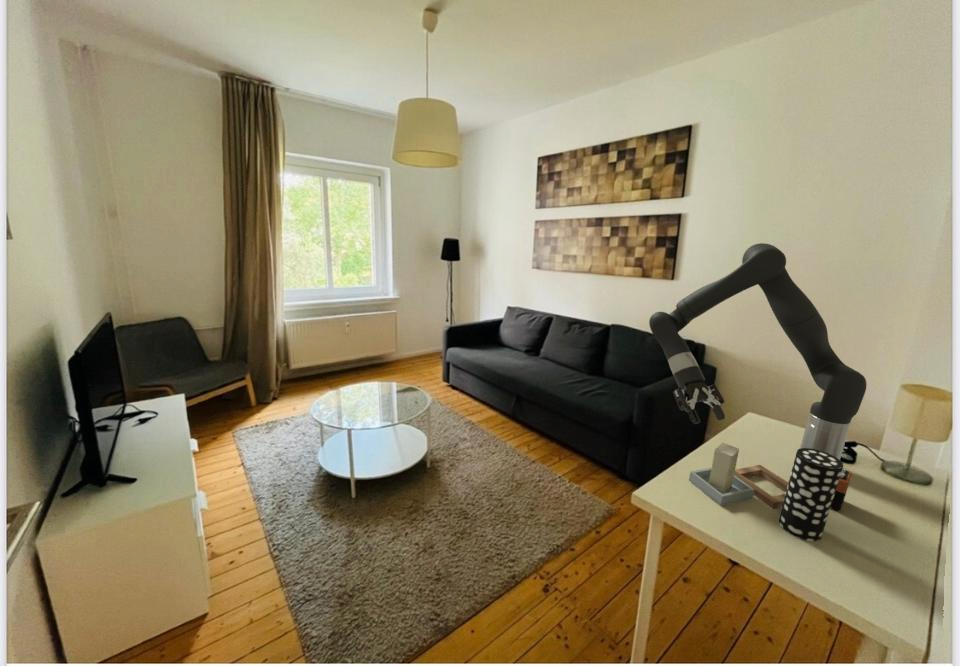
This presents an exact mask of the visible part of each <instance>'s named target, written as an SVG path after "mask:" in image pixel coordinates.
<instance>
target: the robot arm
mask: <svg viewBox="0 0 960 666" xmlns="http://www.w3.org/2000/svg"><path fill="white" fill-rule="evenodd" d="M741 260H742V261H741V263H742V264H741V265H739V267H737V268H736V269H735V270H732V272H730V273H729V274H727V275H725V276H724V277H721V278H719V279H718V280H716V281H714V282H710V283H709V284H706V285H704V286H702V287H700V288H698V289H696V290H695V291H693V292H692V293H690V294H689V295H688V294H687V296H685V297H684V298H682V299H681V300H679V301H678V302H677V303H676V306H675V307H676V308H675V309H674V310H673V311H671V312H670V313H668V312H665V311H656V312H654V313H653V314H651V316H650V318H649V322H648V324H649V328H650V331H651V332H652V335H653V336H654V337H655V339H656V340H657V342H658V344H659V345H660V346H661V348H662V349H663V353H664V355H665V357H666V360H667V363H668V365H669V368H670V370H671V372H672V375H673V378H674V380H675V382H676V384H677V386H678V388H677V389H675V390H674V391H673V392H672V393H673V396H674V398H675V399H674V400H675V401H676V405H677V407H678V409H679V410H680V411H682V412H683V411H685V412H686V413H687V414H688V418H689V419H690V421H691V422H692V423H693V424H694V425H697V424H700V423H701V419H700V416H699V414H698V412H697V410H696V409H695V406H696V403H704V404H707V405H708V406H710V407H711V408H712V411H713V413H714V416H715V418H716V420H717V421H723V420H725V419H726V418H725V417H726V416H725V413H724V411H723V409H722V406H721V405H723V404H725V400H724V397H723V396H722V394H721V392H720V391H719V389H718V386H717V385H716V384H715V383H714V384H711V385H706V383H705V380H706V378H705V376H704V374H703V372H702V370H701V367H700V366H699V364H698V362H697V359H696V358H695V356H694V355H693V353H692V351H691V350H690V347H689V345H688V344H687V341H686V340H685V339H684V338H683V337H682V336H681V335H680V334H679V332H681V331H682V330H683V329H684V328H685V327H687V326H688V325H689V323H691V322H692V321H693V320H694V319H696V318H698V317H700V316H701V315H703V314H704V313H706V312H708V311H710V310H711V309H713V308H714V307H716V306H717V305H720V304H721V303H723V302H724V301H727V300H728V299H730V298H732V297H734V296H736V295H738V294H739V293H742V292H743V291H746V290H748V289H750V288H752V287H755V286H757V285H758V286H759V288H761V290H762V292H763V293H764V295H765V297H766V299H767V302H768V304H769V307H770V308H771V311H772V313H773V314H774V317H775V319H776V320H777V322H778V324H779V325H780V327H781V328H782V329H781V330H783V331H784V333H785V335H786V336H787V337H788V339H789V341H790V342H791V343H792V345H793V346H794V348H795V349H796V350H797V351H798V352H799V354H800V355H801V356H802V358H803V360H804V362H805V364H806V367H807V369H808V370H809V373H810V375H811V377H812V379H813V381H814V382H815V384H816V385H817V387H819V389H821V390H822V391H823V395H822V399H821V401H816V402H813V403H812V404H811V406H810V410H809V414H808V417H807V421H806V425H805V429H804V431H803V436H802V439H801V444H800V447H799V449H800V448H811V449H817V450H820V451H823V452H826V453H829V454H831V455H833V456H835V457H836V458H838V459H839V460H840V461H841V457H842V455H843V451H844V449H845V444H846V443H845V442H846V439H847V435H848V433H849V430H850V429H849V428H850V424H851V422H852V419H853V418H854V417H855V416H856V415H857V413H858V411H860V408H861V404H862V403H863V399H864V397H865V394H866V391H867V379H866V378H865V376H864V375H863V374H862V373H860V372H859V371H857V370H855V369H854V368H852V367H850V366H848V365H846V364H845V363H844V362H843V361H842V360H841V359H840V358H839V356H838V355H837V353H836V352H835V351H834V350H833V348H832V346H831V344H830V342H829V335H828V328H827V325H826V323H825V320H824V318H823V317H822V316H821V314H820V312H819V310H818V309H817V307H815V304H813V302H812V301H811V300H810V299H809V297H808V296H807V295H806V293H805V292H804V291H802V289H801V288H800V287H799V286H798V285H797V284H796V283H795V282H794V281H793V279H792V277H791V276H790V275H789V272H788V270H787V269H786V266H787V257H786V255H785V253H784V252H783V251H782V250H780V249H779V248H777V246H775V245H773V244H769V243H764V242H763V243H756V244H755V243H754V244H753V245H750V246H749V247H748V248H747V249H746V250H745V251H744V253H743V256H742V259H741Z"/></svg>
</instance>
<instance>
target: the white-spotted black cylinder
mask: <svg viewBox="0 0 960 666" xmlns="http://www.w3.org/2000/svg"><path fill="white" fill-rule="evenodd" d="M843 468H844V463H843V461H841V459H840V460H839V459H838V458H836V457H835V456H833V455H831V454H829V453H826V452H823V451H820V450H817V449H811V448H800V447H799V448H798V449H797V450H796V453H795V457H794V461H793V465H792V469H791V472H790V476H789V479H788V482H789V483H788V486H787V490H786V492H785V493H784V494H785V498H784V501H783V505H782V507H781V509H780V510H781V511H780V512H779V517H778V523H779V526H780V527H782V529H783V530H784V531H785V532H787V533H788V534H790V535H791V536H793V537H795V538H798V539H801V540H804V541H807V542H819V541H820V540H822V537H823V534H824V529H825V527H826V524H827V520H828V517H829V515H830V511H831V509H832V508H831V504H832V501H833V498H834V495H835V491H836V488H837V485H838V482H839V478H840V475H841V472H842V469H843Z"/></svg>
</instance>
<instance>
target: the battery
mask: <svg viewBox="0 0 960 666" xmlns="http://www.w3.org/2000/svg"><path fill="white" fill-rule="evenodd" d="M852 475H853V473H852V472H851V471H849V470H846V468H845V467H843V469H842V472H841V475H840V478H839V482H838V485H837V488H836V491H835V495H834V498H833V501H832V504H831V508H830V509H832V510H834V511H837V512H840V511H841V510H842V507H843V504H844V501H845V498H846V494H847V491H848V488H849V485H850V481H851V478H852Z"/></svg>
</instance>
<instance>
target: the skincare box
mask: <svg viewBox="0 0 960 666" xmlns="http://www.w3.org/2000/svg"><path fill="white" fill-rule="evenodd" d="M739 451H740V448H738V447H735V446H732V445H730V444H728V443H724V442H721V444H719V445H717V447H716V448H715V449H714V452H713V459H712V463H711V467H710V468H711V474H710V479H709V484H710V485H711V486H712V487H714V488H715V489H716V490H718V491H719V492H720V493H722V494H725V493H726V492H727V491H728V490H729V489H730V488H731V486H732V482H733V478H734V473H735V470H736V469H737V468H736V467H737V462H738V457H739V453H740V452H739Z"/></svg>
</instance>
